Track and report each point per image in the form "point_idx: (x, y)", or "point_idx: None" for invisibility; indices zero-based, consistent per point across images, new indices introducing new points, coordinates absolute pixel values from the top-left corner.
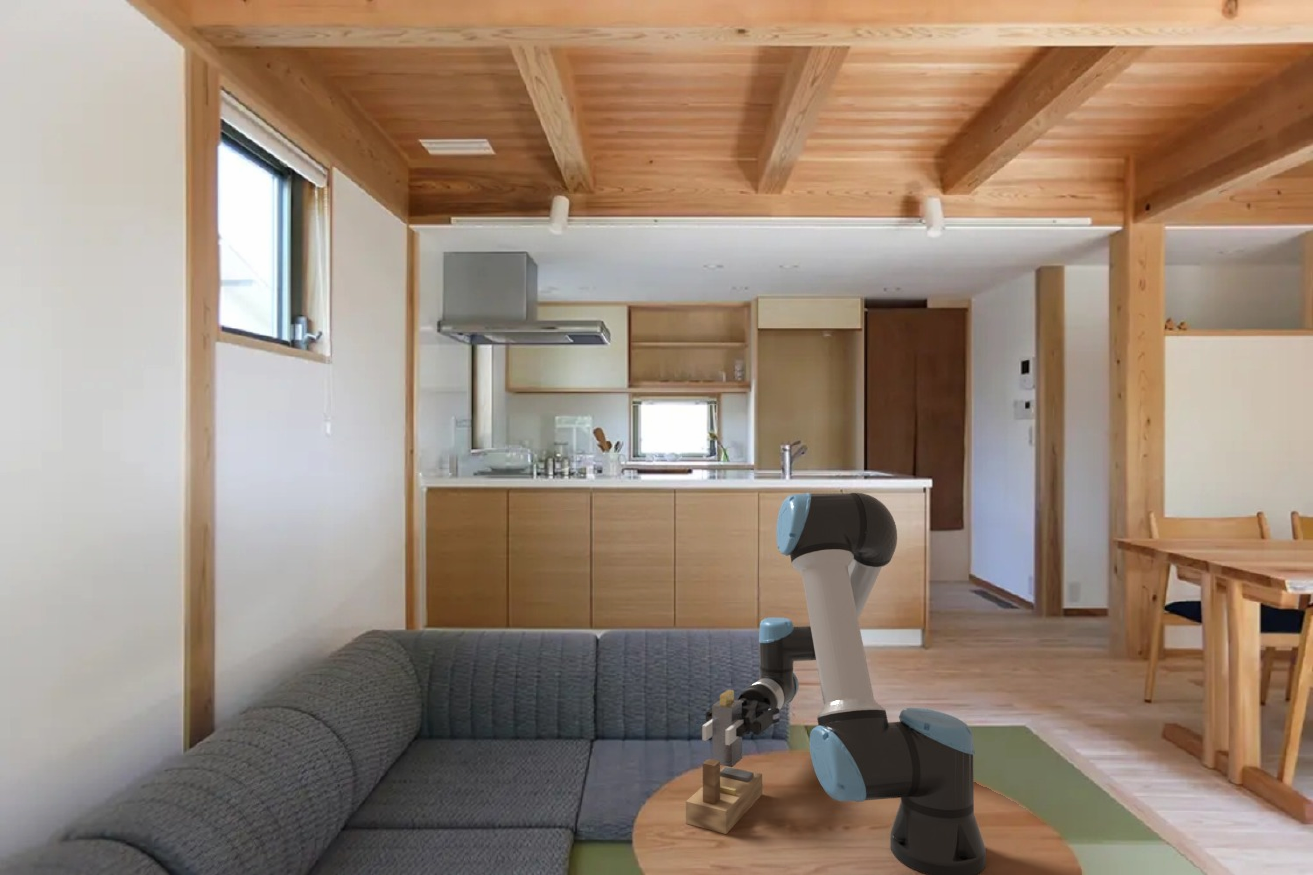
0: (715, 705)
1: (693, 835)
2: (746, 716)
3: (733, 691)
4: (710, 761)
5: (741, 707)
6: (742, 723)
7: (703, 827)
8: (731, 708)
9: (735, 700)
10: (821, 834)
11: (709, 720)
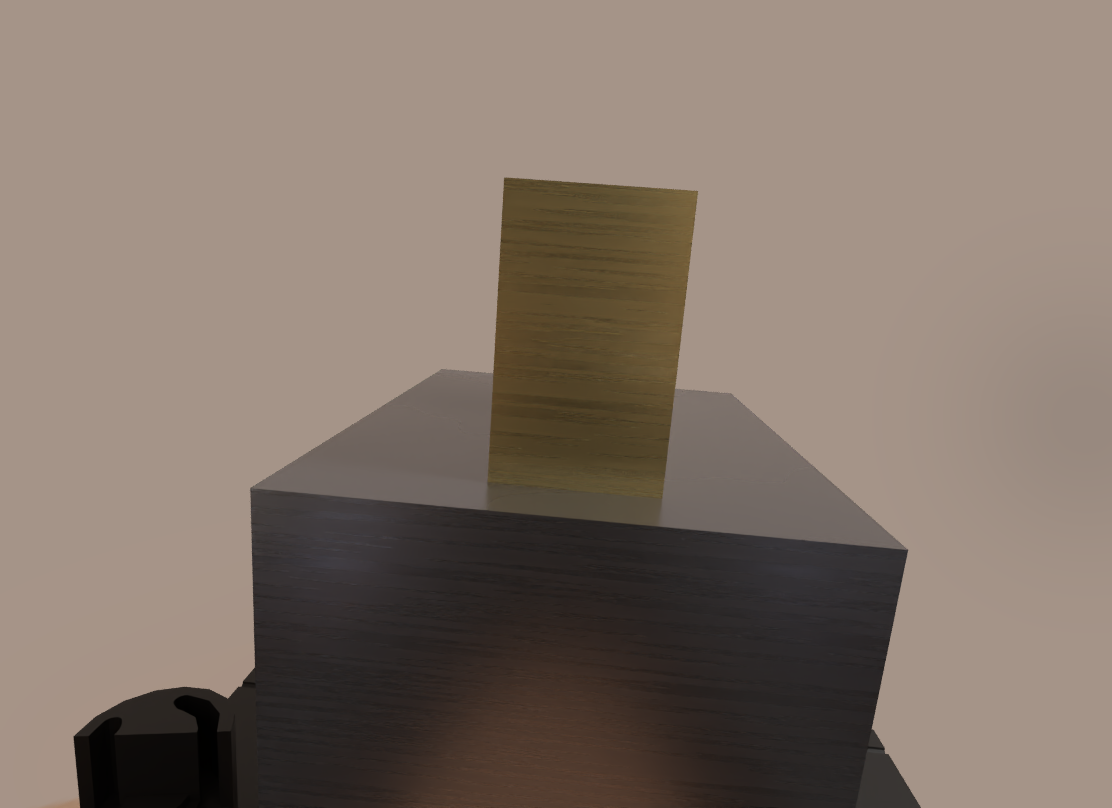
0: (686, 392)
1: None
2: (152, 741)
3: (505, 206)
4: None
5: (262, 652)
6: None
7: None
8: (442, 373)
9: (452, 502)
10: None
11: (868, 765)
